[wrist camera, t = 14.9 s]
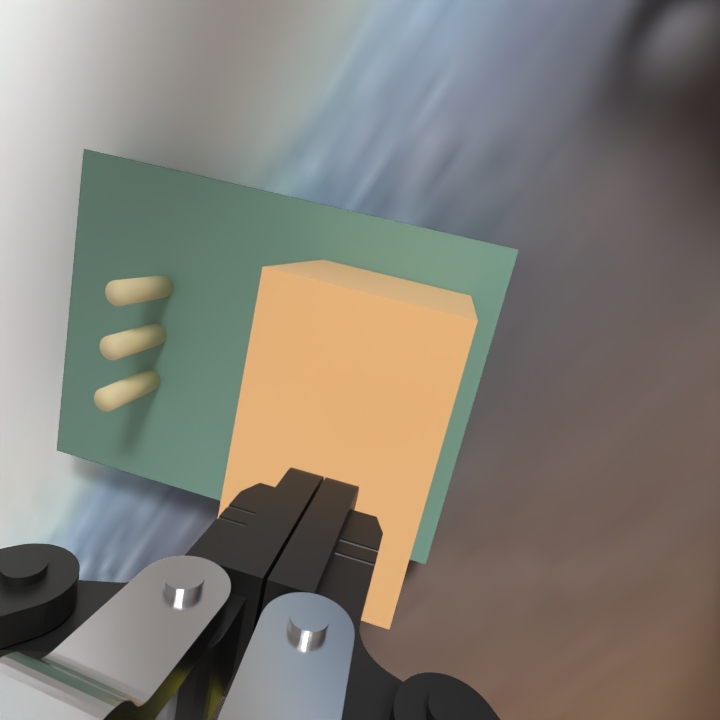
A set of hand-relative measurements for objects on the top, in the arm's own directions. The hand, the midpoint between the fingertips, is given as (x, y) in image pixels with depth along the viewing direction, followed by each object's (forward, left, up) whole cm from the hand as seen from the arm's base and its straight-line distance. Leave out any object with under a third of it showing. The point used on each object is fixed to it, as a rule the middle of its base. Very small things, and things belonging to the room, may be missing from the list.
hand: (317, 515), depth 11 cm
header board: (+5, 0, -12) cm, 13 cm away
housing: (0, 0, -10) cm, 10 cm away
